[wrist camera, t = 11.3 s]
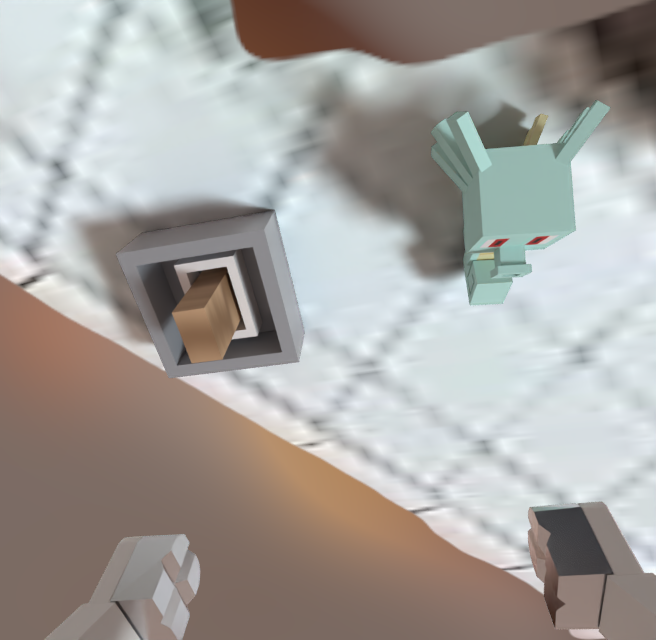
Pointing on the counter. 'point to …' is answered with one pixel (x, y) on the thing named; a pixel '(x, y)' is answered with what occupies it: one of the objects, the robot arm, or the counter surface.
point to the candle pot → (247, 279)
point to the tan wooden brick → (208, 316)
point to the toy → (510, 196)
